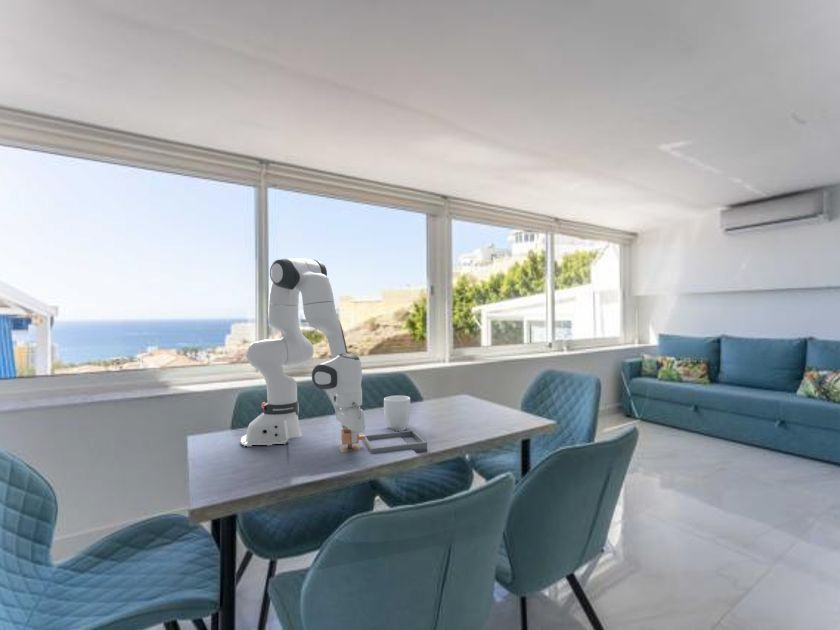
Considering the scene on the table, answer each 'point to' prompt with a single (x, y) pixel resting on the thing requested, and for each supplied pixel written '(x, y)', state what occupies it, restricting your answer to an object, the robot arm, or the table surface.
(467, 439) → the table surface
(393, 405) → the mug
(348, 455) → the table surface
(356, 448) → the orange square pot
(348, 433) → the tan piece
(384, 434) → the tray
